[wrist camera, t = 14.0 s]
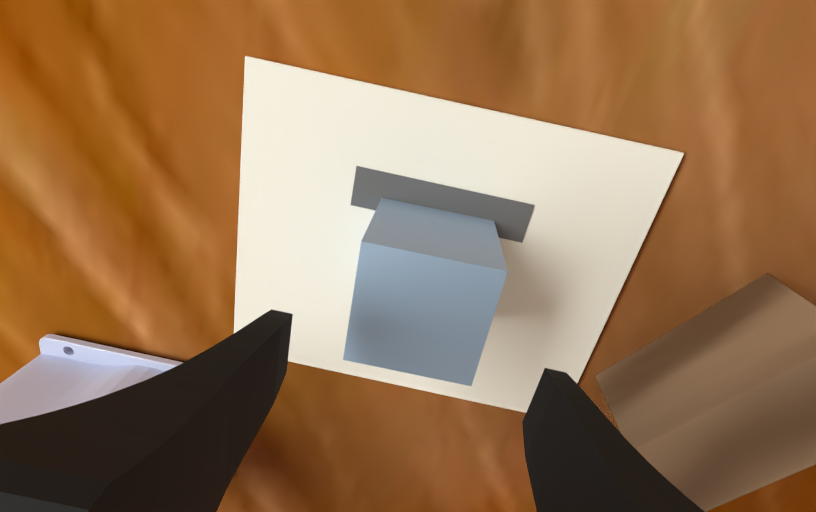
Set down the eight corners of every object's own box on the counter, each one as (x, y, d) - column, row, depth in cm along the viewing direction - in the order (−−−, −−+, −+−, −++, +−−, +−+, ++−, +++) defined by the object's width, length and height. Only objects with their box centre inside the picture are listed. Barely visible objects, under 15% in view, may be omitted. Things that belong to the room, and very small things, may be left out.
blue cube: (365, 295, 19) (342, 359, 15) (381, 197, 17) (361, 241, 13) (466, 316, 19) (471, 386, 15) (494, 220, 17) (508, 271, 13)
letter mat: (235, 345, 22) (232, 349, 21) (248, 56, 16) (244, 56, 16) (559, 415, 22) (560, 420, 21) (680, 151, 16) (684, 153, 16)
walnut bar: (593, 373, 21) (629, 452, 17) (765, 271, 18) (857, 335, 14) (647, 430, 22) (693, 516, 18) (816, 342, 19) (916, 420, 15)
